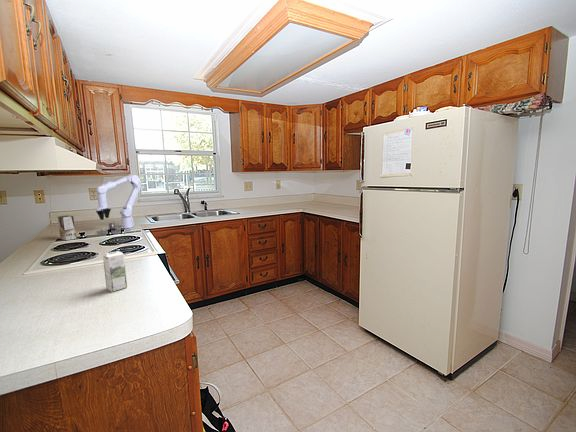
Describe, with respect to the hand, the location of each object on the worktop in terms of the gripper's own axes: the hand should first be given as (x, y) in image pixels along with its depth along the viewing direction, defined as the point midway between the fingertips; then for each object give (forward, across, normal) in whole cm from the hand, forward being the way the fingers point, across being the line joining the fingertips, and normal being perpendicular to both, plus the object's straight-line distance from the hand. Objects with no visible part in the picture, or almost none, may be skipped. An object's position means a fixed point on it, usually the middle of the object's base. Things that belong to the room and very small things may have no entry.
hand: (104, 218), depth 227 cm
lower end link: (+9, +8, +12) cm, 17 cm away
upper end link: (+9, +8, +7) cm, 14 cm away
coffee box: (+10, +26, -12) cm, 30 cm away
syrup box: (+10, +122, +64) cm, 138 cm away
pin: (+9, +8, +9) cm, 15 cm away
